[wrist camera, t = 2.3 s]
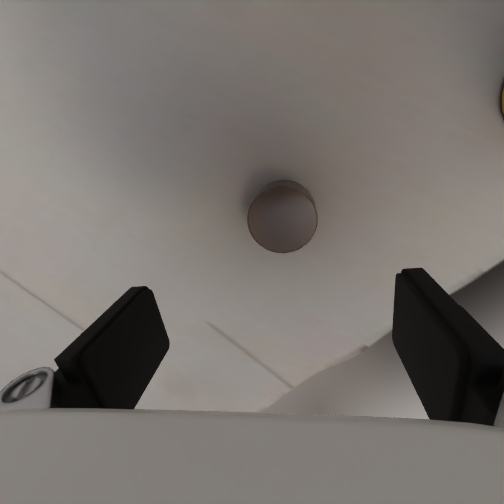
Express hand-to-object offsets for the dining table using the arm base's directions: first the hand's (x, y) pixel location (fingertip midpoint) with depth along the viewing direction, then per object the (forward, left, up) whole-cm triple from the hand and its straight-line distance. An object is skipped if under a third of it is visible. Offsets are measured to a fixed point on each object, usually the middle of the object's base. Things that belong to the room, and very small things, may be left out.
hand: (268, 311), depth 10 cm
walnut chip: (0, 0, -13) cm, 13 cm away
